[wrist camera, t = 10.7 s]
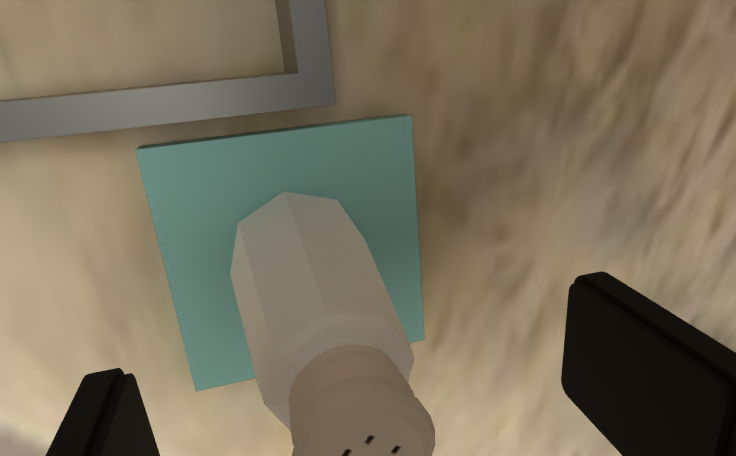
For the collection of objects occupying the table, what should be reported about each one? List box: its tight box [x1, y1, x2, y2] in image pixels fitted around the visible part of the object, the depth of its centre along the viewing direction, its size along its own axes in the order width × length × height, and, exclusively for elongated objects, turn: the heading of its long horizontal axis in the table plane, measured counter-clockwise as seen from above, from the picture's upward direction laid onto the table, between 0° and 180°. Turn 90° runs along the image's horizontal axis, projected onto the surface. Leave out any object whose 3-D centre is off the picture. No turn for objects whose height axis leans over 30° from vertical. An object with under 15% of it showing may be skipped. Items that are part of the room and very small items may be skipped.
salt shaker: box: [230, 191, 435, 456], centre depth 14 cm, size 5×5×11 cm
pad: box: [135, 114, 424, 391], centre depth 20 cm, size 10×10×1 cm
